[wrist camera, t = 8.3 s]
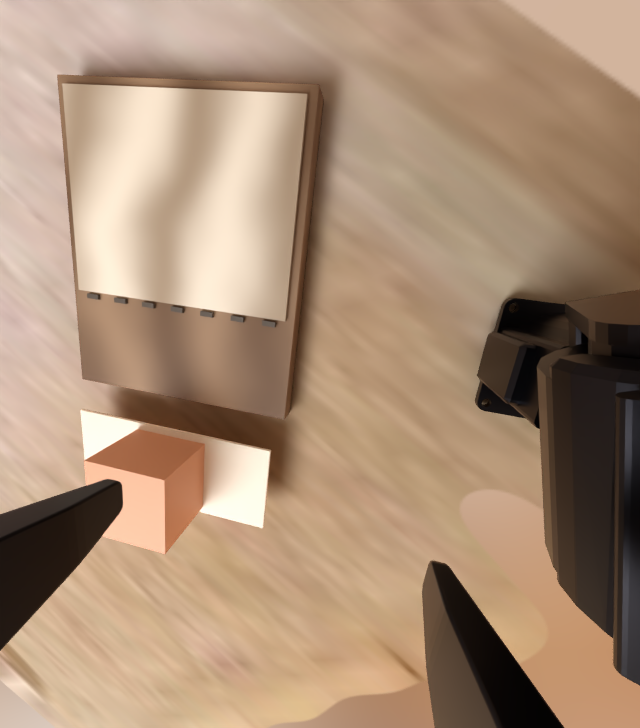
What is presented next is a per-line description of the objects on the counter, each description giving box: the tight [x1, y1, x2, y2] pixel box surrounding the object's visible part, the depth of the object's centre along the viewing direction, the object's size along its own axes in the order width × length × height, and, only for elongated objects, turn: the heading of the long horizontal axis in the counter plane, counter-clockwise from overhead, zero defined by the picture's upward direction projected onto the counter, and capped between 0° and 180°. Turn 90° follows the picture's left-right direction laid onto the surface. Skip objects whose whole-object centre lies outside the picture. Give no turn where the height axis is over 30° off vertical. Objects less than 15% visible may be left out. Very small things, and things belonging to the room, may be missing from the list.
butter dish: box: [81, 409, 271, 554], centre depth 19 cm, size 14×6×4 cm, turn 83°
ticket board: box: [57, 75, 324, 419], centre depth 19 cm, size 15×18×2 cm
